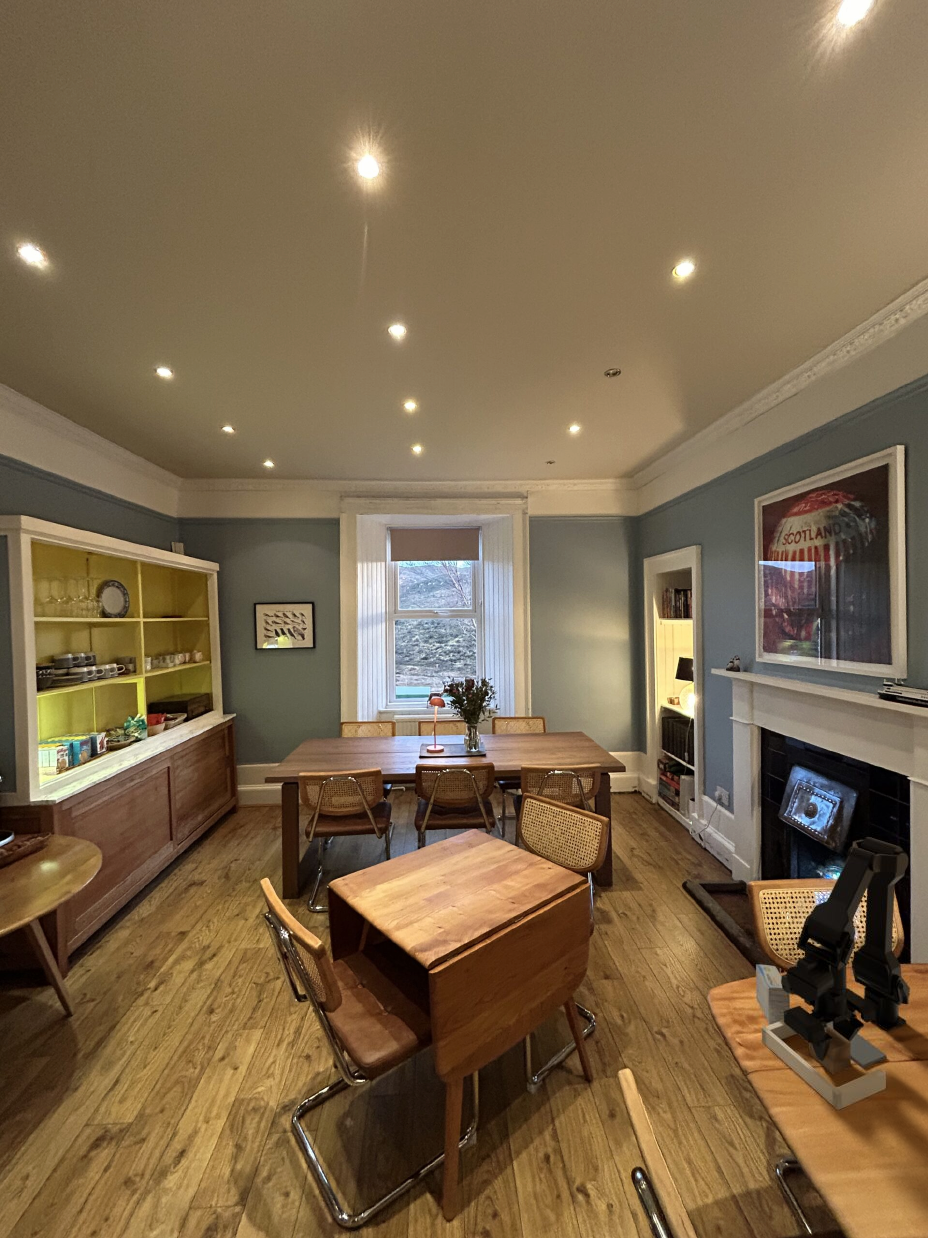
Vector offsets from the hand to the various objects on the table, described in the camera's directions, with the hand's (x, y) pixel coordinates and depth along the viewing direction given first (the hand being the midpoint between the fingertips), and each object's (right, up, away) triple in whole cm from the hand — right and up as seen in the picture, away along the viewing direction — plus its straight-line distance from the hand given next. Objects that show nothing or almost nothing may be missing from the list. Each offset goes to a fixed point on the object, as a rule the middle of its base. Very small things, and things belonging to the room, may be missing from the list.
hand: (829, 1055), depth 105 cm
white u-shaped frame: (-2, -1, -1) cm, 3 cm away
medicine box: (-4, -1, +12) cm, 13 cm away
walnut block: (0, -1, 0) cm, 1 cm away
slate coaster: (+7, -1, +4) cm, 8 cm away
